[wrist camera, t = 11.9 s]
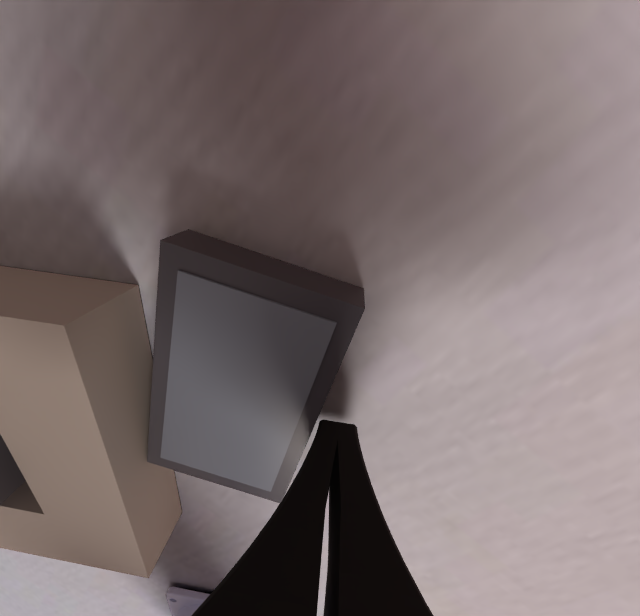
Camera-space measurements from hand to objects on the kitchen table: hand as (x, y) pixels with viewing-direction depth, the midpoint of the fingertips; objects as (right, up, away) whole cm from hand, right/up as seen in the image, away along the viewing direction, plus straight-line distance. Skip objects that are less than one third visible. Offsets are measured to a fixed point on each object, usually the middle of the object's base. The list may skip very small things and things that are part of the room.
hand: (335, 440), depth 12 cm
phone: (-3, +3, +1) cm, 4 cm away
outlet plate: (-15, +1, +3) cm, 15 cm away
